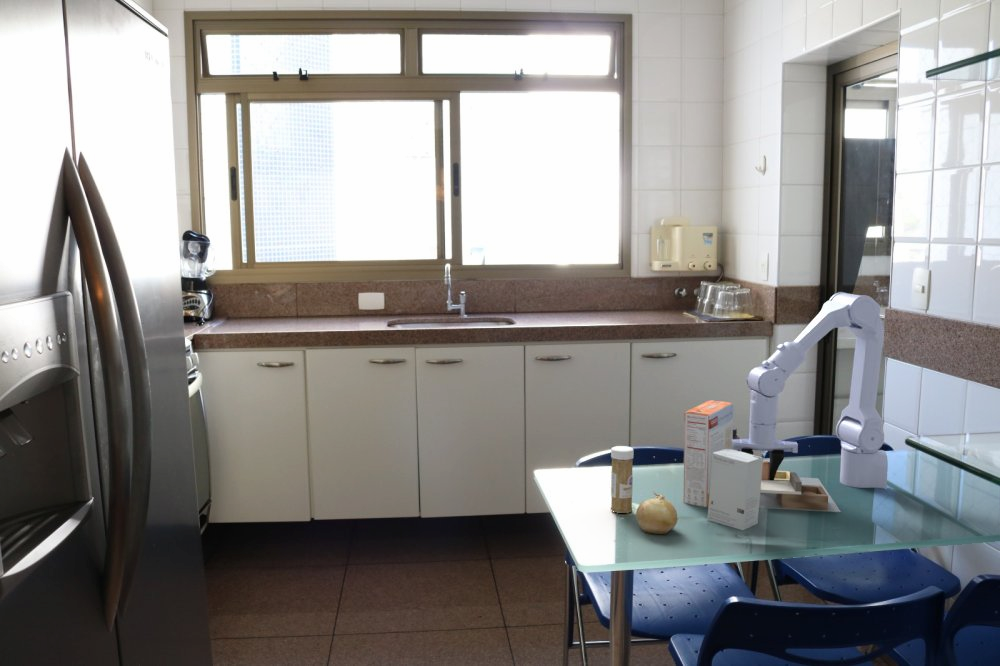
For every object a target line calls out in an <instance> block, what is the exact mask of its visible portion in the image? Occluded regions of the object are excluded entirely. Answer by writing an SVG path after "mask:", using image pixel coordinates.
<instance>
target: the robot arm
mask: <svg viewBox="0 0 1000 666" xmlns="http://www.w3.org/2000/svg"><path fill="white" fill-rule="evenodd" d="M845 327H847V328H848V329H849V330H850V331H851V332H852V333H853V334H854V335H855V338H856V339H855V347H854V355H853V363H852V373H851V383H850V391H849V401H848V405H847V406H845V408H843V410H841V412H840V413H841V415H840V418H839V420H838V422H837V424H836V425H835V434H836V437H837V438H838V440H839V441H840V446H841V449H840V453H841V454H840V467H839V468H840V471H839V472H840V473H839V483H841V484H842V485H845V486H848V487H852V488H859V489H860V488H861V489H862V488H863V489H865V488H875V489H878V488H879V489H884V490H887V488H888V487H887V486H888V484H887V483H888V471H889V470H888V466H889V462H888V455H887V453H886V451H885V450H883V449H881V448H882V446H883V444H884V441H885V432H884V430H883V418H882V417H881V415H880V414H879V412H878V410H877V408H876V406H877V405H876V404H877V398H878V389H879V388H878V387H879V380H880V372H881V371H880V370H881V361H882V354H883V345H884V335H885V327H884V325H883V320H882V318H881V305H880V304H879V303H877V301H876V300H875V299H873V298H872V297H871V296H869V295H860V294H853V293H847V292H843V291H838V292H837V293H834V294H833V295H832V296H830V298H829V300H827V301H826V302H824V303H823V305H822V307H821V310H820V311H819V312H818V314H817V315H816V316H814V318H813V319H812V320H811V321H810V322H809V323H808V325H807V326H806V327H805V328H804V329H803V330H802V332H800V334H799V335H797V337H796V338H795V339H794V340H793V341H784V343H783V344H782V343H779V344H778V345H777V346H776V350H775V351H774V352H773V353H772V354H771V356H770V357H769V358H767V360H763V361H762V362H761V366H756V367H754V368H753V369H751V370H750V371H749V373H748V376H747V378H746V379H745V384H746V386H747V388H748V389H749V391H750V395H749V396H750V401H749V402H750V403H749V404H750V405H749V406H750V407H749V427H748V428H749V429H748V431H749V432H748V434H749V435H748V438H740V439H735V440H732V450H734V449H735V450H740V452H745V453H748V454H751V455H755V454H754V451H761V452H763V451H764V452H769V462H770V481H774V478H775V475H776V472H777V471H779V467H780V466H781V464H782V462H783V461H784V459H785V452H788V453H789V452H791V453H793V454H798V451H799V450H798V448H799V447H798V446H799V444H798V443H797V441H787V440H780V439H777V434H778V432H777V431H778V412H779V411H778V408H779V394H780V393H782V392H783V391H784V388H785V384H786V381H787V380H788V378H789V377H790V376H792V374H793V373H794V372H795V371H797V369H798V368H799V367H800V366H801V365H802V364H803V363H804V362H805V361H806V357H807V356H806V355H807V354H806V353H807V352H808V351H809V350H810V349H811V348H812V347H813V346H814V345H816V344H817V343H818V342H819V341H820V340H821V339H823V337H825V336H826V335H827V334H828V333H829V332H830V331H832V330H833V329H836V328H837V329H838V328H845Z"/></svg>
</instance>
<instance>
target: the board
mask: <svg viewBox="0 0 1000 666" xmlns="http://www.w3.org/2000/svg"><path fill="white" fill-rule="evenodd" d="M798 477H799V476H798ZM799 479H800V480H801V482H802V485H816V486H822V488H823V489H824V491H825V492H826V494H827V495H828V510H808V509H789V508H781V506H780V504H779V502H778V500H777V498H776V494H777V493H761V492H760V501H759V509H768V510H769V509H772V510H773V509H774V510H775V509H776V510H787V511H789V510H790V511H791V510H793V511H809V512H810V511H812V512H829V513H841V512H842V511H841V510H840V509H839V507H838V506H837V503H836V502H835V501H834V499H833V498H832V497H831V495H830V494H829V492H828V491H827V489H826V488H825V486H824V485H823V483H822V482H821V480H820V479H819V478H817V477H801V476H800V477H799ZM774 481H790V471H789V470H777V472H776V475H775V478H774Z"/></svg>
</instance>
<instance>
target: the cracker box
mask: <svg viewBox="0 0 1000 666" xmlns="http://www.w3.org/2000/svg"><path fill="white" fill-rule="evenodd" d="M683 414H684V416H683V417H684V421H683V422H684V424H683V425H684V427H683V430H684V432H683V433H684V436H683V437H684V438H683V440H684V441H683V443H684V444H683V498H682V499H683V504H687V505H693V506H698V507H703V508H707V509H708V506H709V494H710V481H711V469H712V457H713V453H714V452H717V451H721V450H724V449H731V450H732V440H733V427H734V426H733V425H734V402H728V401H722V400H712V399H710V400H707V401H704V402H703V403H701V404H699V405H697V406H695V407H693V408H690V409H688V410H686V411H684V413H683Z"/></svg>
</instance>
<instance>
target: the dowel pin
mask: <svg viewBox="0 0 1000 666" xmlns="http://www.w3.org/2000/svg"><path fill="white" fill-rule="evenodd" d="M761 480H769V481H770V460H764V459H763V466H762V478H761Z"/></svg>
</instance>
